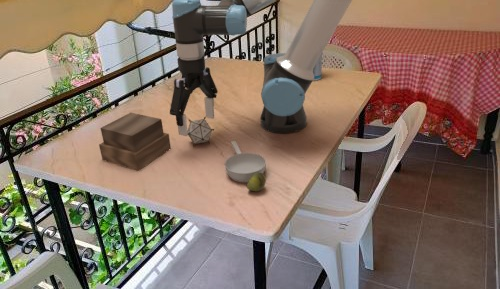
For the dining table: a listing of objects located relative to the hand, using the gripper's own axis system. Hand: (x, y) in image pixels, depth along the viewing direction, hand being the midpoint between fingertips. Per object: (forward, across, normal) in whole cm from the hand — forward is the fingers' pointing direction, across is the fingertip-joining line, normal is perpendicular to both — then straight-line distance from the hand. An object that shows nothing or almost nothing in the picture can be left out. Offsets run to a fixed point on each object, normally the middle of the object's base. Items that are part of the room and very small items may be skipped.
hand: (197, 126), depth 127 cm
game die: (+6, 0, 0) cm, 6 cm away
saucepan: (+6, +7, +20) cm, 21 cm away
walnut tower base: (+6, +14, -12) cm, 20 cm away
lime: (+6, +15, +28) cm, 33 cm away
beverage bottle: (+5, -69, +8) cm, 70 cm away
